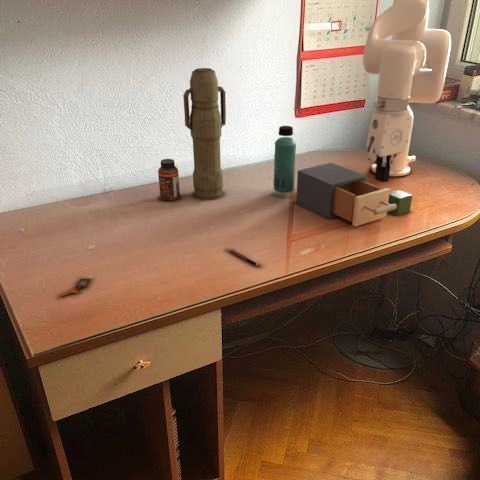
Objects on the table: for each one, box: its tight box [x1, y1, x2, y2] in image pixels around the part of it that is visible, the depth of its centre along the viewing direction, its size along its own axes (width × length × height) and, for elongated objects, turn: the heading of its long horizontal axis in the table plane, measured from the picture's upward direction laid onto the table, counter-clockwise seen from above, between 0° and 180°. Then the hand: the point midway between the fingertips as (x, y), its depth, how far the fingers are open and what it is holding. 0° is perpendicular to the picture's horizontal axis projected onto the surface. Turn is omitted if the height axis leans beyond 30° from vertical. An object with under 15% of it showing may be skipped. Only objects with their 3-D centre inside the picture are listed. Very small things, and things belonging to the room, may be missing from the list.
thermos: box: [182, 67, 227, 200], centre depth 154 cm, size 9×12×35 cm
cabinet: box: [295, 162, 367, 219], centre depth 152 cm, size 15×13×10 cm
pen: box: [228, 249, 260, 267], centre depth 127 cm, size 11×1×1 cm, turn 40°
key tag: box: [61, 278, 91, 297], centre depth 116 cm, size 8×3×1 cm, turn 162°
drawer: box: [332, 180, 397, 227], centre depth 144 cm, size 18×11×8 cm, turn 33°
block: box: [387, 189, 413, 217], centre depth 150 cm, size 5×5×5 cm
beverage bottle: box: [273, 125, 297, 194], centre depth 158 cm, size 6×7×20 cm
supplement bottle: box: [157, 158, 181, 202], centre depth 158 cm, size 6×6×11 cm
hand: (381, 180), depth 136 cm, fingers closed
